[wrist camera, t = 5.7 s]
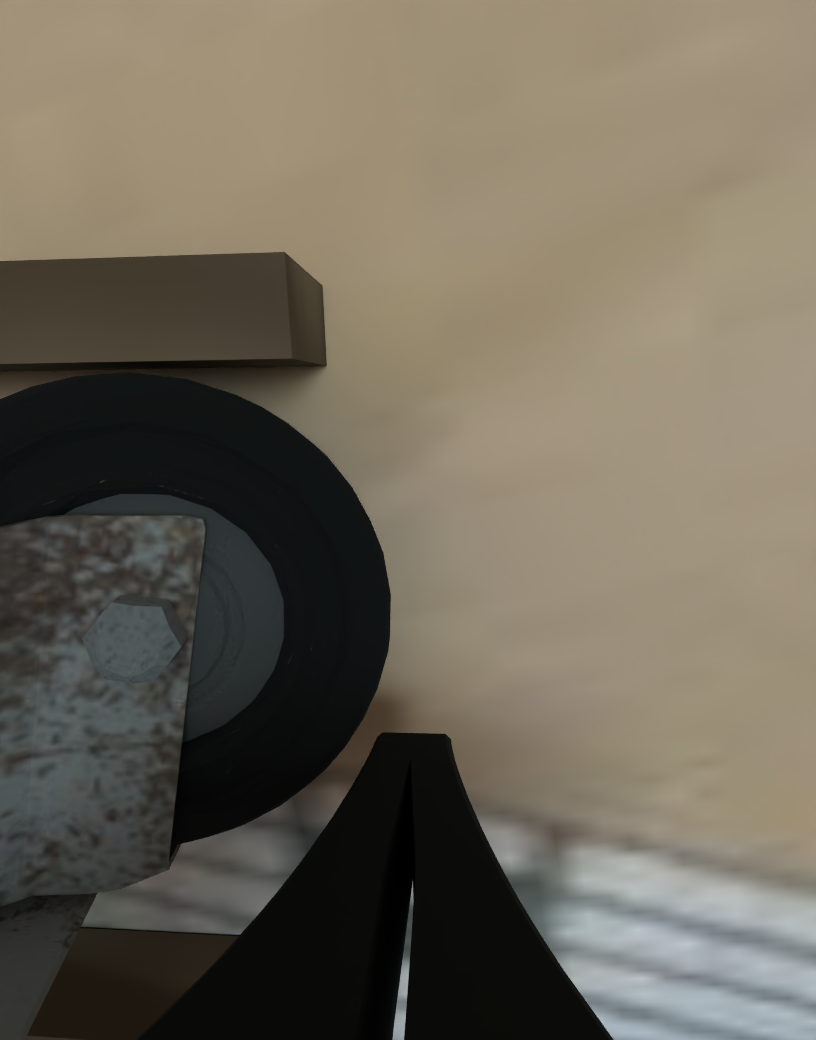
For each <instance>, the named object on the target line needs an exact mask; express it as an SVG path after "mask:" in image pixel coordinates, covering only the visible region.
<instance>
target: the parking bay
mask: <svg viewBox="0 0 816 1040" xmlns="http://www.w3.org/2000/svg"><path fill="white" fill-rule="evenodd" d="M277 366H327V364H326V345H325V326H324V307H323V288H322V285H321V284H320V283H319V282H318V281H317V280H315V279H314V278H313V277H312V276H311V275H310V274H309V273H308V272H306V271H305V270H304V269H303V268H302V267H301V266H300V265H299V264H297V263H296V262H295V261H294V260H293V259H292V258H291V257H290V256H288V255H287V254H286V253H285V252H273V253H242V254H211V255H180V256H149V257H118V258H87V259H55V260H24V261H0V371H55V370H111V369H166V368H222V367H277ZM238 937H239V936H224V935H205V934H186V933H167V932H147V931H128V930H109V929H90V928H80V929H79V931H78V933H77V935H76V937H75V939H74V941H73V943H72V945H71V947H70V949H69V951H68V953H67V955H66V957H65V959H64V961H63V963H62V965H61V967H60V969H59V971H58V973H57V975H56V977H55V979H54V981H53V983H52V985H51V987H50V989H49V991H48V993H47V995H46V997H45V999H44V1001H43V1003H42V1005H41V1007H40V1009H39V1011H38V1014H37V1016H36V1018H35V1020H34V1022H33V1024H32V1026H31V1028H30V1030H29V1032H28V1034H27V1036H26V1038H25V1040H136V1039H137V1038H138V1037H139V1036H140V1035H141V1034H142V1033H143V1032H144V1031H145V1030H146V1029H147V1028H148V1027H149V1026H150V1025H151V1024H152V1023H154V1022H155V1021H156V1020H157V1019H158V1018H159V1017H160V1016H161V1015H162V1014H163V1013H164V1012H165V1011H166V1010H167V1009H168V1008H169V1007H170V1006H171V1005H172V1004H173V1003H174V1002H175V1001H176V1000H177V999H179V998H180V997H181V996H182V995H183V994H184V993H185V992H186V991H187V990H188V989H189V988H190V987H191V986H192V985H193V984H194V983H195V982H196V981H197V980H198V979H199V978H200V977H201V976H202V975H203V974H204V973H205V972H206V971H207V970H208V969H209V968H210V967H211V966H212V965H213V964H214V963H215V962H216V961H217V960H218V958H219V957H220V956H221V955H222V954H223V953H224V952H225V951H226V950H227V949H228V948H229V947H230V945H231V944H232V943H233V942H234V941H235V940H236V939H237V938H238Z"/></svg>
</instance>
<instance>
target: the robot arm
mask: <svg viewBox="0 0 816 1040" xmlns="http://www.w3.org/2000/svg"><path fill="white" fill-rule="evenodd" d="M412 881H413V894H414V907H413V922H412V938H411V952H410V967H409V981H408V996H407V1009H406V1022H405V1036H404V1040H613V1038H612V1037H611V1036H610V1034H609V1033H608V1031H607V1030H606V1029H605V1027H604V1026H603V1024H602V1023H601V1022H600V1020H599V1019H598V1017H597V1016H596V1015H595V1013H594V1012H593V1010H592V1009H591V1008H590V1006H589V1005H588V1004H587V1002H586V1001H585V999H584V998H583V997H582V995H581V994H580V992H579V991H578V990H577V988H576V987H575V985H574V984H573V983H572V981H571V980H570V978H569V977H568V976H567V974H566V973H565V971H564V970H563V969H562V967H561V966H560V964H559V963H558V961H557V959H556V958H555V956H554V955H553V953H552V952H551V950H550V949H549V947H548V946H547V944H546V942H545V941H544V939H543V938H542V936H541V935H540V933H539V932H538V930H537V928H536V927H535V925H534V923H533V922H532V920H531V919H530V917H529V915H528V914H527V912H526V910H525V909H524V907H523V905H522V904H521V902H520V900H519V899H518V897H517V895H516V893H515V892H514V890H513V888H512V886H511V884H510V883H509V881H508V879H507V877H506V875H505V874H504V872H503V870H502V868H501V866H500V864H499V862H498V860H497V858H496V856H495V854H494V852H493V850H492V849H491V847H490V845H489V842H488V840H487V838H486V836H485V834H484V832H483V830H482V828H481V826H480V823H479V821H478V819H477V816H476V814H475V812H474V810H473V807H472V805H471V803H470V801H469V798H468V796H467V793H466V791H465V788H464V785H463V783H462V780H461V777H460V774H459V771H458V768H457V765H456V762H455V758H454V754H453V750H452V745H451V739H450V738H449V737H448V736H447V735H446V734H428V733H386V732H383V733H381V734H380V735H379V736H378V737H377V739H376V741H375V743H374V746H373V748H372V750H371V752H370V754H369V756H368V758H367V760H366V762H365V764H364V766H363V767H362V769H361V771H360V773H359V775H358V776H357V778H356V780H355V782H354V783H353V785H352V787H351V788H350V790H349V792H348V793H347V795H346V796H345V798H344V800H343V801H342V803H341V804H340V806H339V808H338V809H337V811H336V812H335V814H334V816H333V817H332V819H331V820H330V822H329V823H328V825H327V826H326V827H325V829H324V830H323V832H322V833H321V834H320V836H319V837H318V839H317V840H316V841H315V843H314V844H313V846H312V847H311V849H310V850H309V851H308V853H307V854H306V856H305V857H304V858H303V860H302V861H301V862H300V864H299V865H298V866H297V868H296V869H295V870H294V872H293V873H292V874H291V875H290V877H289V878H288V879H287V881H286V882H285V883H284V884H283V886H282V887H281V888H280V889H279V891H278V892H277V893H276V894H275V895H274V897H273V898H272V899H271V900H270V901H269V903H268V904H267V905H266V906H265V907H264V909H263V910H262V911H261V912H260V913H259V914H258V916H257V917H256V918H255V919H254V920H253V921H252V922H251V923H250V924H249V926H248V927H247V928H246V929H245V930H244V931H243V932H242V933H241V934H240V936H239V937H238V938H237V939H236V940H235V941H234V942H233V943H232V944H231V945H230V947H229V948H228V949H227V950H226V951H225V952H224V953H223V954H222V955H221V956H220V957H219V958H218V960H217V961H216V962H215V963H214V964H213V965H212V966H211V967H210V968H209V969H208V970H207V971H206V972H205V973H204V974H203V975H202V976H201V977H200V978H199V979H198V980H197V981H196V982H195V983H194V984H193V985H192V986H191V987H190V988H189V989H188V990H187V991H186V992H185V993H184V994H183V995H182V996H181V997H180V998H179V999H177V1000H176V1001H175V1002H174V1003H173V1004H172V1005H171V1006H170V1007H169V1008H168V1009H167V1010H166V1011H165V1012H164V1013H163V1014H162V1015H161V1016H160V1017H159V1018H158V1019H157V1020H156V1021H155V1022H154V1023H152V1024H151V1025H150V1026H149V1027H148V1028H147V1029H146V1030H145V1031H144V1032H143V1033H142V1034H141V1035H140V1036H139V1037H138V1038H137V1039H136V1040H392V1038H393V1028H394V1020H395V1012H396V1005H397V997H398V989H399V982H400V974H401V966H402V959H403V951H404V943H405V936H406V928H407V920H408V912H409V905H410V897H411V889H412Z"/></svg>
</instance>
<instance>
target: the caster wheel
mask: <svg viewBox="0 0 816 1040" xmlns="http://www.w3.org/2000/svg"><path fill="white" fill-rule="evenodd" d="M390 602H391V594H390V588H389V583H388V577H387V571H386V566H385V560H384V555H383V551H382V549H381V546H380V544H379V541H378V539H377V536H376V534H375V531H374V528H373V526H372V523H371V521H370V519H369V517H368V515H367V514H366V512H365V510H364V508H363V506H362V505H361V503H360V501H359V499H358V497H357V495H356V494H355V492H354V490H353V488H352V487H351V485H350V484H349V483H348V482H347V480H346V479H345V478H344V477H343V475H342V474H341V473H340V472H339V470H338V469H337V468H336V467H335V465H334V464H333V463H332V462H331V460H330V459H329V458H328V457H327V456H326V455H325V454H324V453H323V452H322V451H321V450H320V449H318V448H317V447H316V446H315V445H314V444H313V443H312V442H310V441H309V440H308V439H307V438H305V437H304V436H303V435H302V434H300V433H299V432H298V431H297V430H295V429H294V428H293V427H292V426H290V425H289V424H288V423H286V422H285V421H283V420H282V419H280V418H278V417H277V416H275V415H274V414H272V413H270V412H269V411H267V410H266V409H264V408H262V407H261V406H258V405H256V404H254V403H252V402H250V401H247V400H245V399H243V398H241V397H239V396H237V395H234V394H231V393H228V392H225V391H222V390H218V389H215V388H212V387H209V386H206V385H203V384H200V383H197V382H194V381H190V380H187V379H180V378H172V377H163V376H154V375H145V374H137V373H117V374H103V375H89V376H75V377H71V378H67V379H63V380H58V381H54V382H50V383H45V384H41V385H37V386H33V387H30V388H27V389H25V390H22V391H20V392H17V393H15V394H12V395H10V396H7V397H5V398H2V399H0V1040H25V1038H26V1036H27V1034H28V1032H29V1030H30V1028H31V1026H32V1024H33V1022H34V1020H35V1018H36V1016H37V1014H38V1011H39V1009H40V1007H41V1005H42V1003H43V1001H44V999H45V997H46V995H47V993H48V991H49V989H50V987H51V985H52V983H53V981H54V979H55V977H56V975H57V973H58V971H59V969H60V967H61V965H62V963H63V961H64V959H65V957H66V955H67V953H68V951H69V949H70V947H71V945H72V943H73V941H74V939H75V937H76V935H77V933H78V931H79V929H80V927H81V925H82V923H83V921H84V919H85V917H86V915H87V913H88V911H89V909H90V907H91V905H92V903H93V901H94V899H95V897H96V895H97V893H98V892H104V891H110V890H116V889H121V888H124V887H126V886H129V885H131V884H134V883H136V882H139V881H141V880H144V879H146V878H149V877H151V876H154V875H156V874H159V873H161V872H164V871H166V870H169V868H170V866H171V864H172V862H173V860H174V858H175V856H176V854H177V852H178V850H179V848H180V845H181V843H186V842H190V841H194V840H198V839H202V838H206V837H209V836H212V835H215V834H219V833H222V832H225V831H228V830H231V829H234V828H236V827H239V826H241V825H244V824H246V823H248V822H250V821H252V820H254V819H256V818H258V817H260V816H261V815H263V814H265V813H267V812H269V811H271V810H273V809H275V808H277V807H279V806H280V805H282V804H283V803H284V802H286V801H287V800H288V799H290V798H291V797H292V796H294V795H295V794H296V793H298V792H299V791H300V790H302V789H303V788H304V787H306V786H307V785H308V784H309V783H311V782H312V781H313V780H314V779H315V778H316V777H317V776H318V775H319V774H321V773H322V772H323V771H324V770H325V769H326V768H327V767H328V766H329V765H330V764H331V762H332V761H333V760H334V759H335V758H336V757H337V755H338V754H339V753H340V752H341V751H342V750H343V749H344V747H345V746H346V744H347V743H348V741H349V740H350V738H351V737H352V735H353V734H354V732H355V731H356V729H357V728H358V726H359V725H360V723H361V721H362V720H363V718H364V716H365V714H366V712H367V710H368V707H369V705H370V703H371V701H372V699H373V697H374V695H375V692H376V690H377V688H378V685H379V681H380V678H381V674H382V671H383V667H384V664H385V660H386V657H387V653H388V648H389V640H390Z"/></svg>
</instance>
